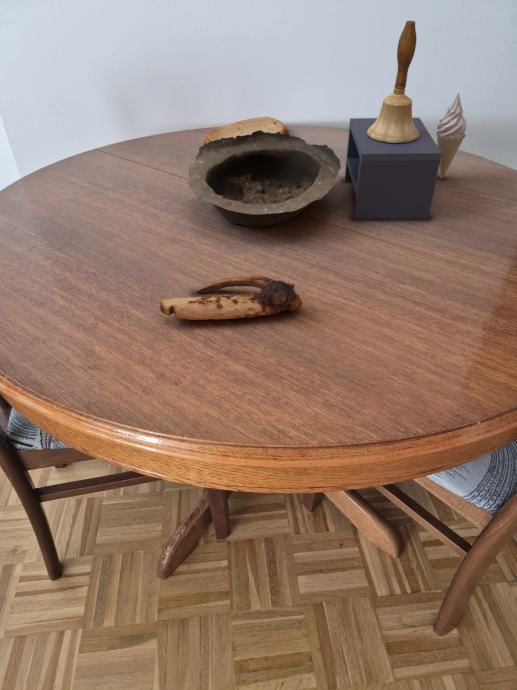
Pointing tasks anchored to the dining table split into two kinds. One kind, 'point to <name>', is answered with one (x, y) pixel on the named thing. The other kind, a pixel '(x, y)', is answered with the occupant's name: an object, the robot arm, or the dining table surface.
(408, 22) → the hand bell
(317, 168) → the stone bowl
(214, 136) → the bread slice
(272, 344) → the dining table surface
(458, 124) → the ice cream cone
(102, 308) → the dining table surface
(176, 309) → the lashed bone hook
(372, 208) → the shelf
